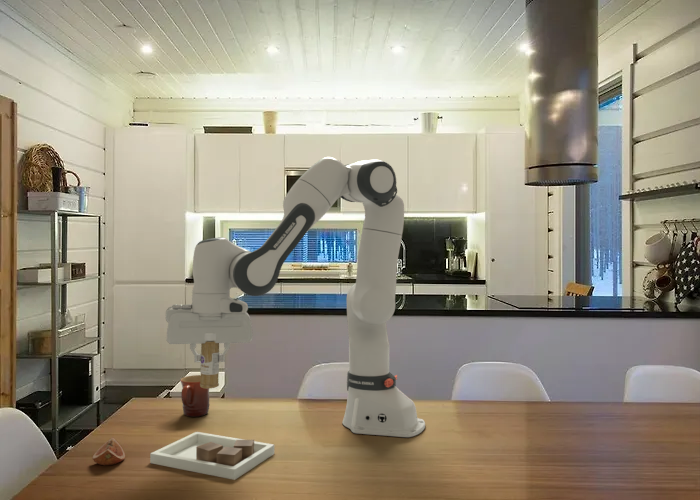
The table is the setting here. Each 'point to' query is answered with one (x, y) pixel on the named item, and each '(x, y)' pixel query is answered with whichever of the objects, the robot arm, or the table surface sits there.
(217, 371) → the sprinkles bottle
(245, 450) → the cube
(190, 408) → the mug
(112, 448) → the fruit slice
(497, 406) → the table surface
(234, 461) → the cube
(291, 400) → the table surface
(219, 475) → the tray
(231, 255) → the robot arm
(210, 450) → the cube
